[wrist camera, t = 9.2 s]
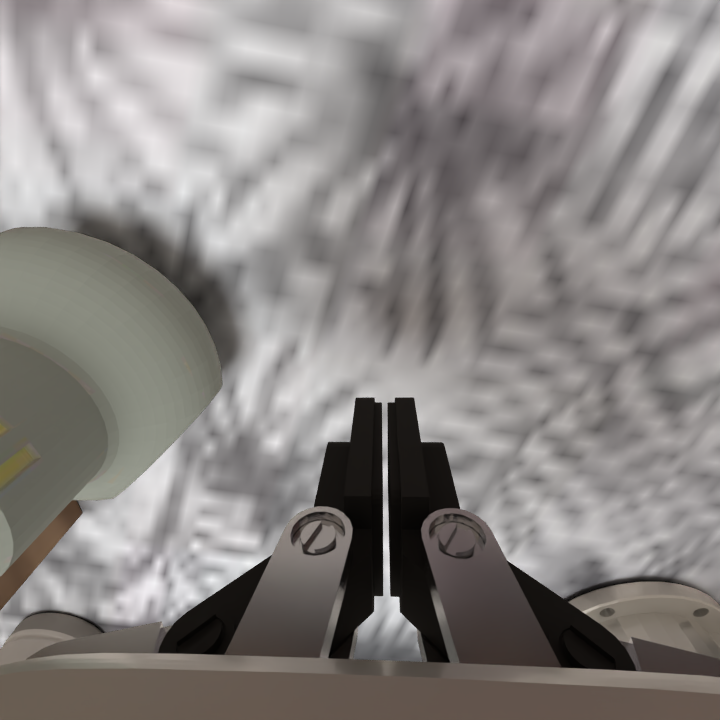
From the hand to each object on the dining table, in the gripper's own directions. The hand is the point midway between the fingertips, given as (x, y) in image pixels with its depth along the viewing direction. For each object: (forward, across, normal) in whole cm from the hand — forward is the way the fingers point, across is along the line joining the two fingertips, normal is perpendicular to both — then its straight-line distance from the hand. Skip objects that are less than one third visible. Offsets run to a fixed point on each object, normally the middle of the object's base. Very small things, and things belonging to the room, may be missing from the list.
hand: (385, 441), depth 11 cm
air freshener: (+7, +12, -1) cm, 14 cm away
